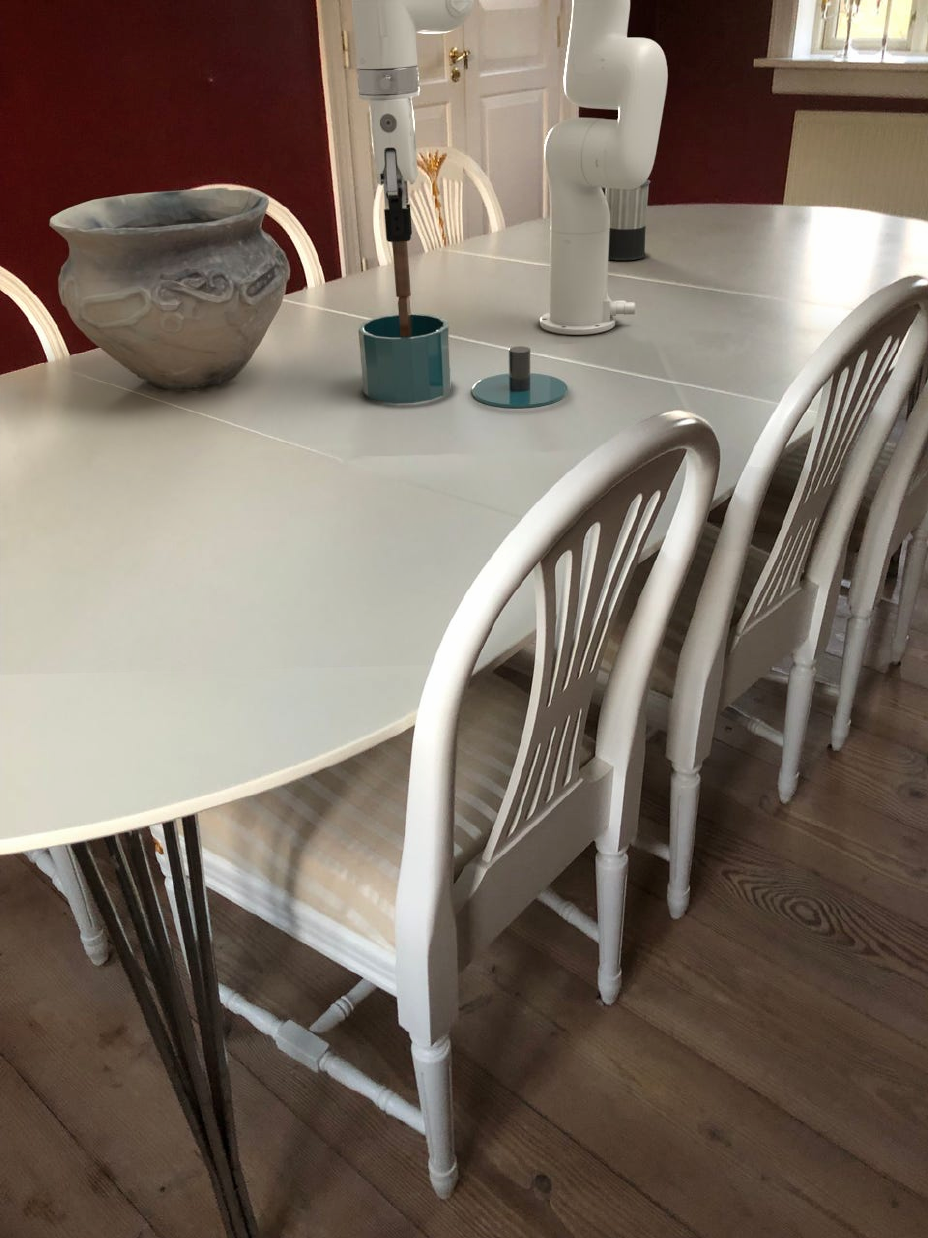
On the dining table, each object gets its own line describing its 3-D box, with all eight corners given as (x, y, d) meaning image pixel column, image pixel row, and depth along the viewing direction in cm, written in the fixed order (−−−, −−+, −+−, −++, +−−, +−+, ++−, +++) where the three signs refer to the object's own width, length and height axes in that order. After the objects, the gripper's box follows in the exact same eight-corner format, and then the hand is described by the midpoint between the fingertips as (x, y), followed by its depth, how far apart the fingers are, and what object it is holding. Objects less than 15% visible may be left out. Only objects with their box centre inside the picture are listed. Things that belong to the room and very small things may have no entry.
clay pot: (193, 432, 138) (158, 236, 125) (34, 395, 153) (-12, 217, 140) (345, 361, 162) (329, 190, 149) (195, 335, 177) (168, 178, 164)
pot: (451, 376, 154) (449, 312, 149) (449, 405, 143) (447, 337, 138) (368, 378, 154) (363, 314, 149) (360, 408, 144) (354, 340, 139)
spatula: (414, 332, 148) (405, 198, 138) (412, 345, 143) (403, 206, 133) (400, 332, 148) (390, 198, 138) (398, 345, 143) (387, 207, 133)
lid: (563, 378, 151) (564, 333, 148) (571, 410, 140) (572, 363, 137) (472, 381, 152) (471, 336, 148) (472, 413, 140) (470, 366, 137)
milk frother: (653, 253, 217) (657, 178, 210) (621, 270, 206) (624, 190, 199) (592, 248, 224) (594, 174, 216) (558, 263, 213) (559, 186, 205)
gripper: (415, 88, 121) (425, 251, 131) (421, 76, 135) (429, 224, 145) (351, 91, 122) (366, 253, 131) (364, 79, 135) (376, 227, 145)
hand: (399, 237), depth 138 cm, fingers closed on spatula, 2 cm apart
